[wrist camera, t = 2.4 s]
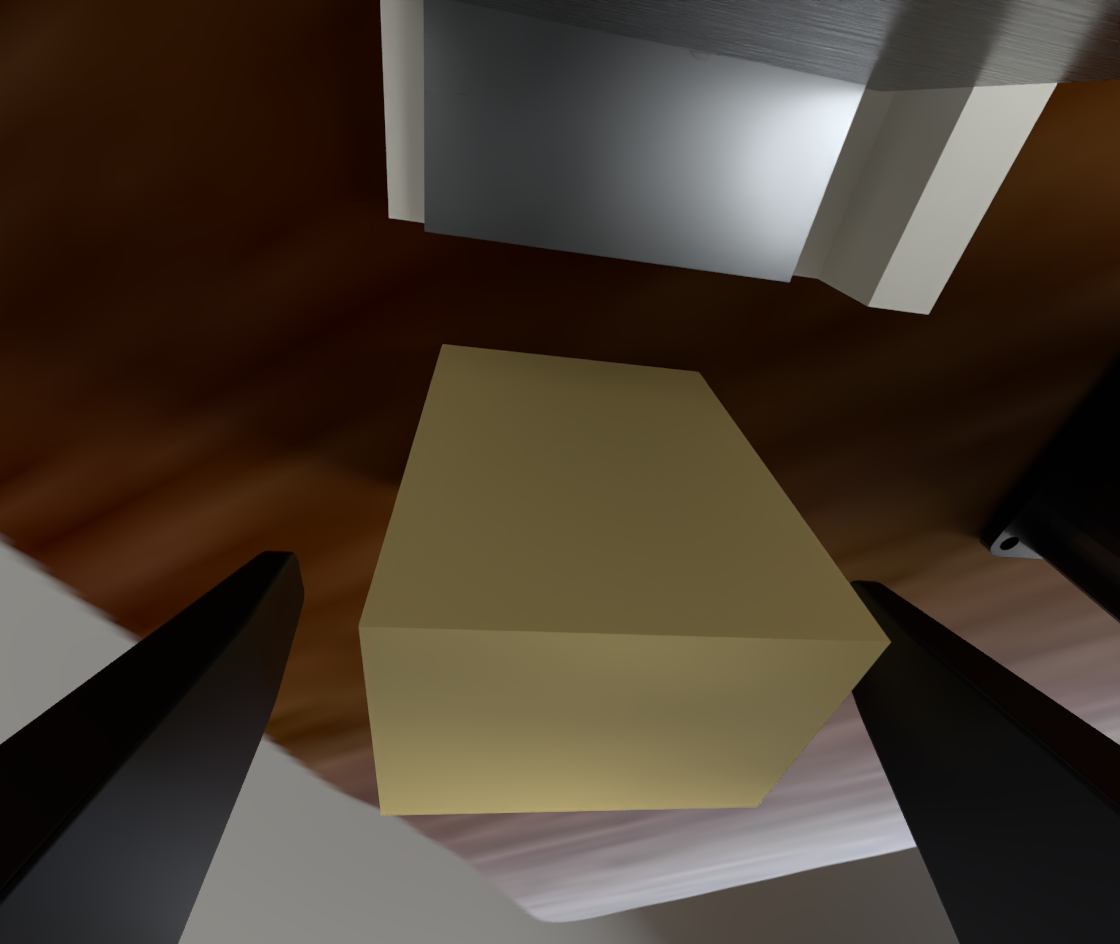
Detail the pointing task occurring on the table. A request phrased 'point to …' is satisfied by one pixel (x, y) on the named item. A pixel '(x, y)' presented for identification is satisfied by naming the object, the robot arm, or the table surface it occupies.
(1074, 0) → the bookend
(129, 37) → the table surface
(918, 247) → the shelf
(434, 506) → the ochre book
